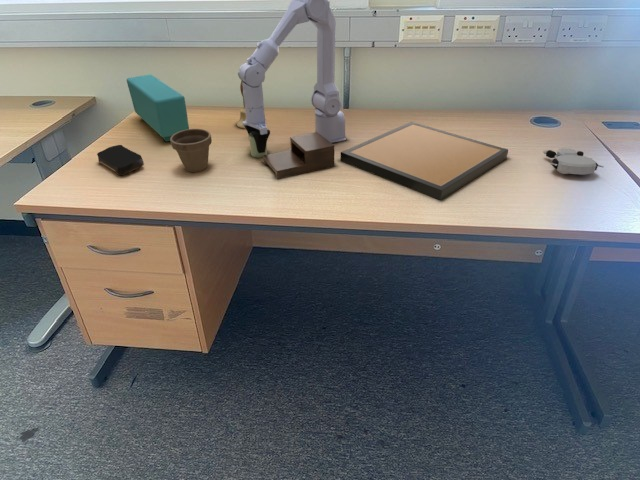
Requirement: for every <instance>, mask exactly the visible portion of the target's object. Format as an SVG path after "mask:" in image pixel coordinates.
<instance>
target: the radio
mask: <svg viewBox="0 0 640 480" xmlns="http://www.w3.org/2000/svg"><path fill="white" fill-rule="evenodd" d="M126 84H127V88H128V91H129V94H130V98H131V103H132V106H133V109H134V112H135V113H136V115H137V116H139V117H140V118H141V119H142V120H143V122H145V123H146V124H147V125H148V126H149V127H150V128H152V130H154V131H155V133H157V135H159V136H160V137H161V138H163V140H164V142H170V138H171V136H172V135H173V134H175V133H177V132H179V131H183V130H187V129H190V126H189V117H188V111H187V104H186V98H185V96H184V95H182V94H181V93H179V92H178V91H177V90H175V89H174V88H172V87H171V86H169V85H168V84H166V83H165V82H163V81H162V80H160V78H159V79H158V77H156V76H155V75H153V74H151V73H150V74H143V75H138V76H133V77H132V76H131V77H128V78H126Z"/></svg>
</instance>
